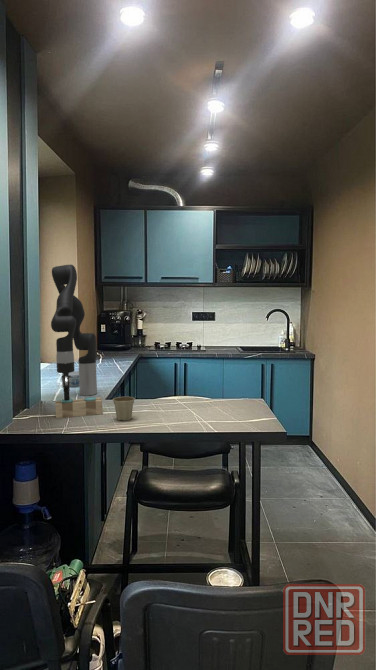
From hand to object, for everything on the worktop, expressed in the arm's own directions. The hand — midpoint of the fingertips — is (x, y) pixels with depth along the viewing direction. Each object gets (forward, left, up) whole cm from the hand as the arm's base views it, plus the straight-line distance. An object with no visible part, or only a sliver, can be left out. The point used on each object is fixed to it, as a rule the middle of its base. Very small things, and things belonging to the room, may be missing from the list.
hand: (66, 400), depth 199 cm
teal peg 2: (0, +10, -7) cm, 12 cm away
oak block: (0, +5, -7) cm, 8 cm away
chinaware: (-72, +6, -7) cm, 72 cm away
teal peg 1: (0, 0, -7) cm, 7 cm away
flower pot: (+15, +23, -7) cm, 29 cm away
